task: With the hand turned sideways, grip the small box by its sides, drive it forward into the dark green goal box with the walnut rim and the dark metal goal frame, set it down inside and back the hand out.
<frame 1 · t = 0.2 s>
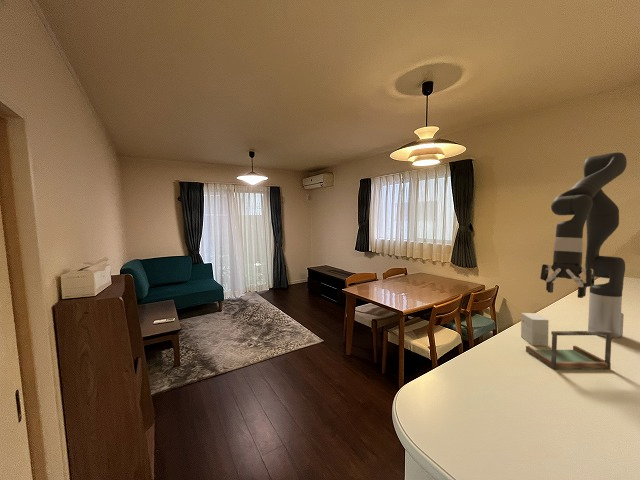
hand: (564, 294, 93), 22 cm above the kitchen counter, tool pointing down, fingers open, 8 cm apart
small box: (533, 341, 104), on the kitchen counter
goal: (565, 359, 90), on the kitchen counter
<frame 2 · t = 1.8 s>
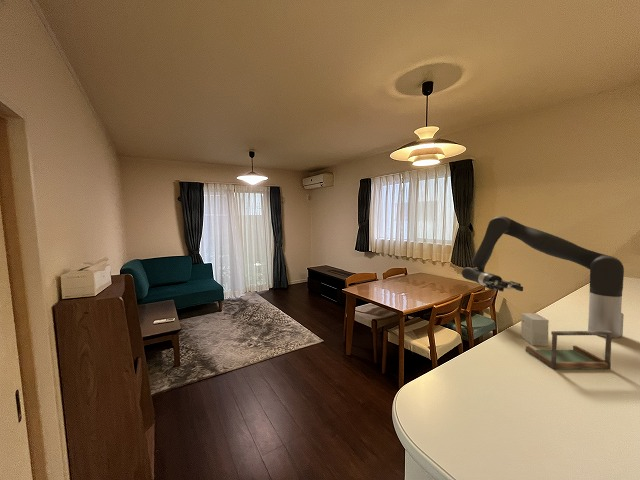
hand: (512, 289, 115), 18 cm above the kitchen counter, tool horizontal, fingers open, 8 cm apart
nothing on the kitchen counter moved.
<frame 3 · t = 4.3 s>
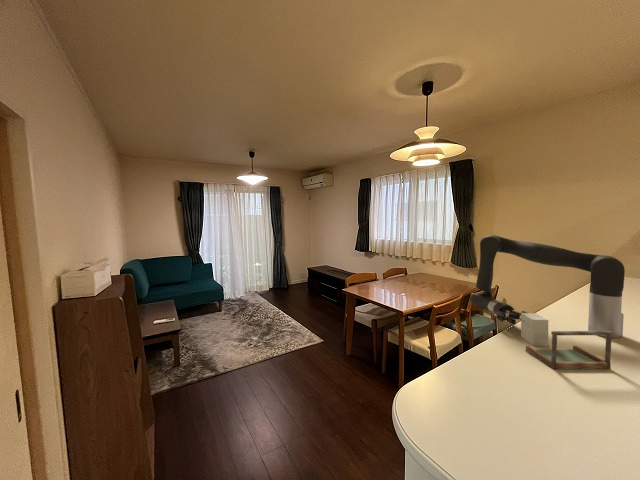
hand: (525, 322, 108), 6 cm above the kitchen counter, tool horizontal, fingers open, 8 cm apart
nothing on the kitchen counter moved.
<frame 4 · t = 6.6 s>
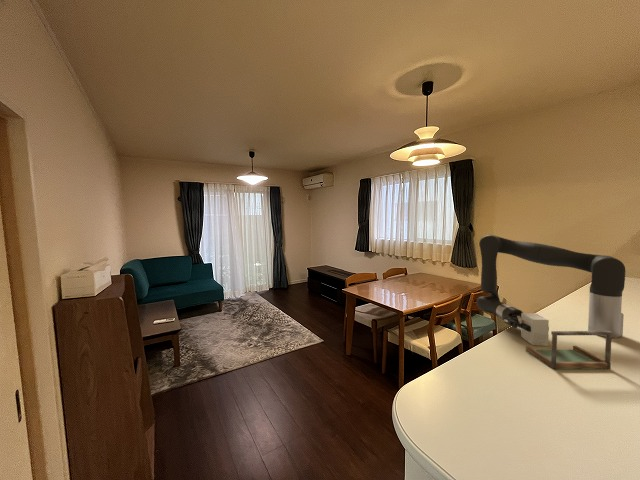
hand: (538, 329, 101), 6 cm above the kitchen counter, tool horizontal, fingers closed on small box, 6 cm apart
small box: (533, 341, 104), on the kitchen counter, touching gripper
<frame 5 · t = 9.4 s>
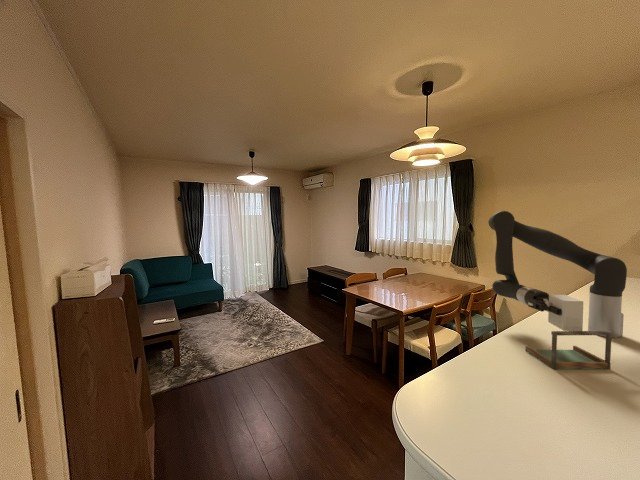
hand: (571, 312, 87), 18 cm above the kitchen counter, tool horizontal, fingers closed on small box, 6 cm apart
small box: (564, 327, 90), point 11 cm above the kitchen counter, touching gripper
when the fingers open (7 cm above the kitchen counter, at t = 12.3 s): small box stays where it is, resting on goal.
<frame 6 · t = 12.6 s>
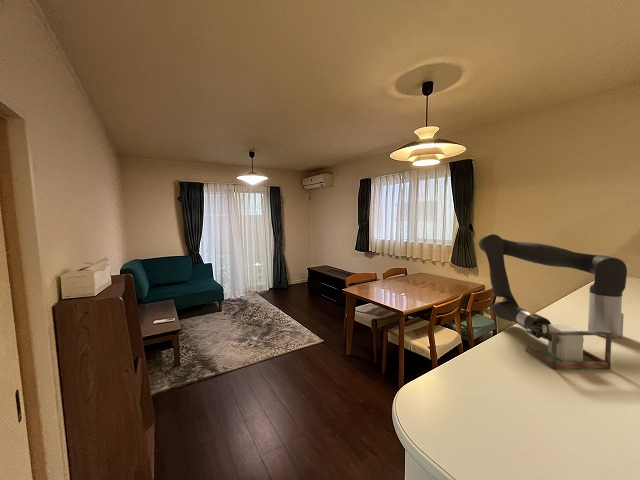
hand: (569, 340, 88), 7 cm above the kitchen counter, tool horizontal, fingers open, 8 cm apart
small box: (564, 357, 91), resting on goal
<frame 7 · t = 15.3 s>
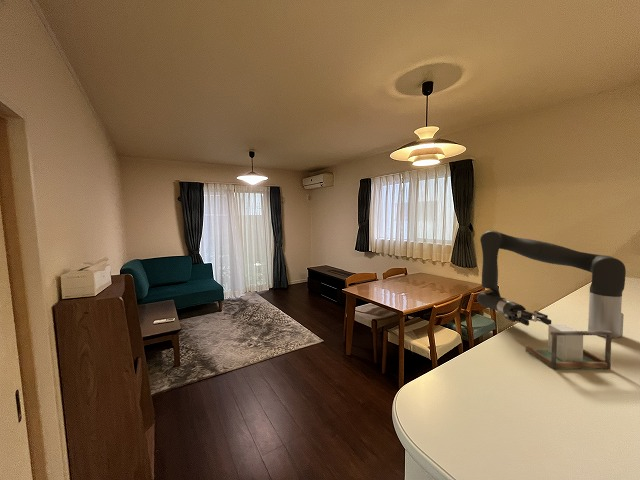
hand: (539, 323, 101), 8 cm above the kitchen counter, tool horizontal, fingers open, 8 cm apart
nothing on the kitchen counter moved.
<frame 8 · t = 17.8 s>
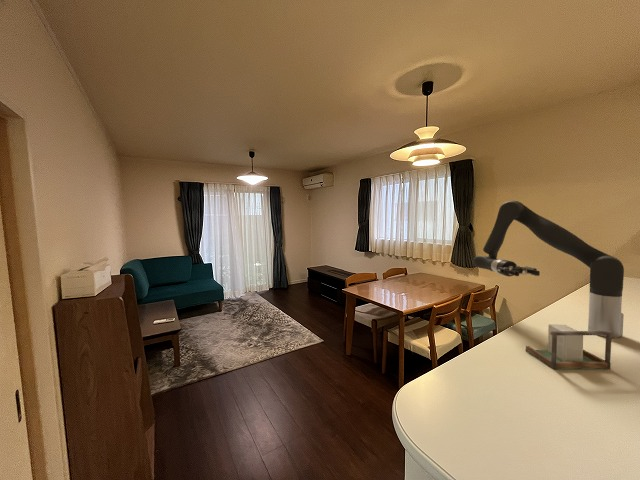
hand: (528, 273, 111), 26 cm above the kitchen counter, tool horizontal, fingers open, 8 cm apart
nothing on the kitchen counter moved.
at the end: small box inside the target area on the goal (0.4 cm from its centre), point 0.3 cm above the goal's base; small box tilted 0°; the gripper is holding nothing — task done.
